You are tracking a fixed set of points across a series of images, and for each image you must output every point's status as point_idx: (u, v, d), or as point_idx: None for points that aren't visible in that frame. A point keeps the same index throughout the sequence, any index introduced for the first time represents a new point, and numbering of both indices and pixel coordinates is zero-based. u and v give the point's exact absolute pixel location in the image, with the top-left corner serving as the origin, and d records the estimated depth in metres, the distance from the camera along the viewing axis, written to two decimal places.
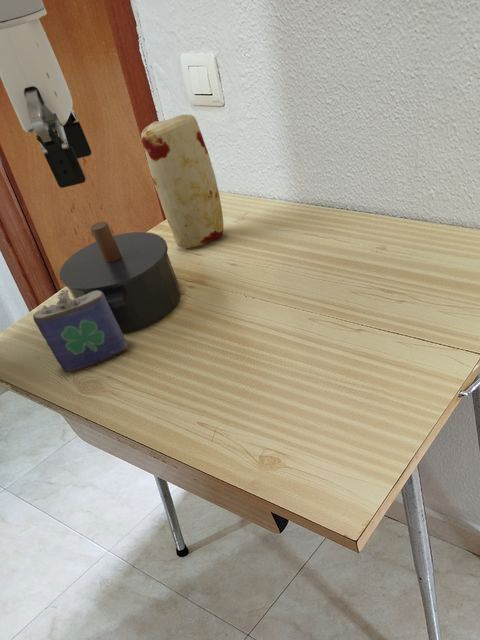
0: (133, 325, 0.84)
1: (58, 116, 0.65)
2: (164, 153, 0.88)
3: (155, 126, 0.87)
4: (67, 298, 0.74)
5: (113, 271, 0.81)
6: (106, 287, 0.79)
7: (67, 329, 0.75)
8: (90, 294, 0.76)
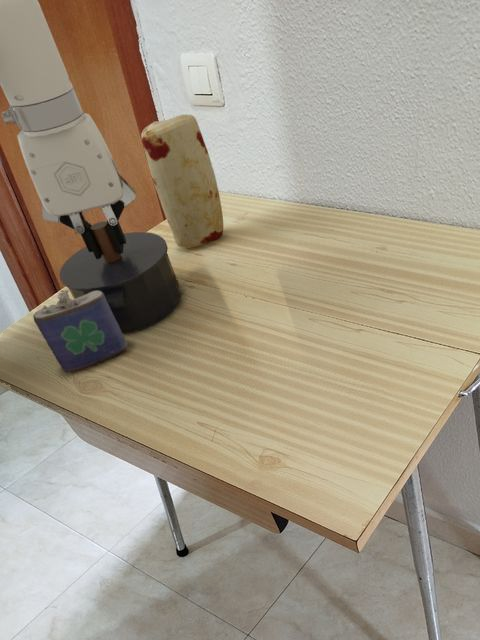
0: (133, 325, 0.84)
1: None
2: (164, 153, 0.88)
3: (155, 126, 0.87)
4: (67, 298, 0.74)
5: (113, 271, 0.81)
6: (106, 287, 0.79)
7: (67, 329, 0.75)
8: (90, 294, 0.76)
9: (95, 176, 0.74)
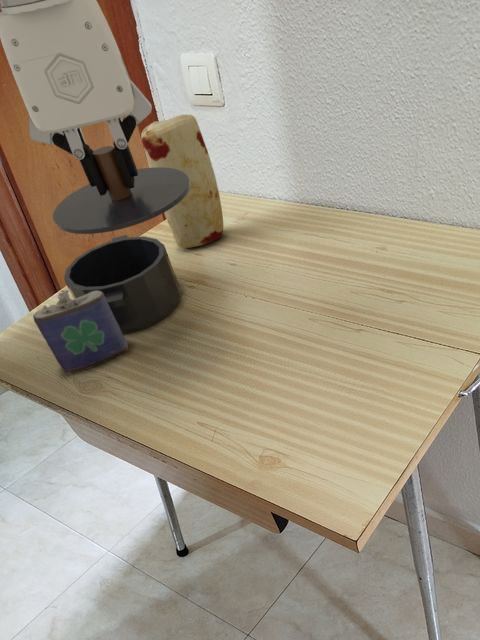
0: (133, 325, 0.84)
1: None
2: (164, 153, 0.88)
3: (155, 126, 0.87)
4: (67, 298, 0.74)
5: (122, 209, 0.63)
6: (113, 228, 0.61)
7: (67, 329, 0.75)
8: (90, 294, 0.76)
9: (99, 76, 0.56)
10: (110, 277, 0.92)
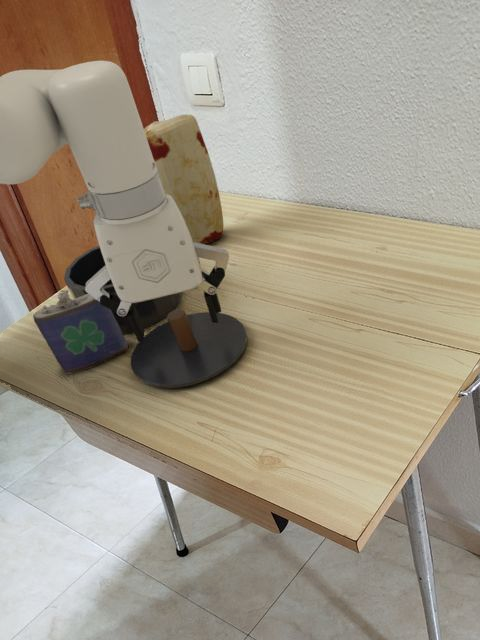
0: None
1: (198, 261, 0.72)
2: (164, 153, 0.88)
3: (155, 126, 0.87)
4: (67, 298, 0.74)
5: (191, 363, 0.75)
6: (186, 384, 0.72)
7: (67, 329, 0.75)
8: None
9: (176, 263, 0.67)
10: None
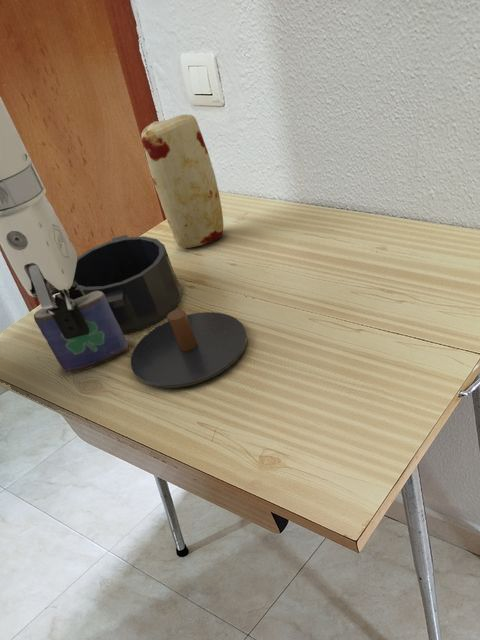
0: (133, 325, 0.84)
1: None
2: (164, 153, 0.88)
3: (155, 126, 0.87)
4: None
5: (191, 363, 0.75)
6: (186, 384, 0.72)
7: None
8: (91, 294, 0.76)
9: (64, 234, 0.71)
10: (110, 277, 0.92)
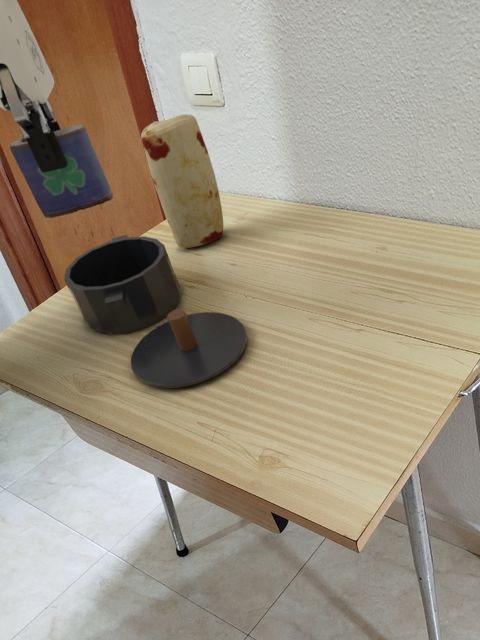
0: (133, 325, 0.84)
1: None
2: (164, 153, 0.88)
3: (155, 126, 0.87)
4: None
5: (191, 363, 0.75)
6: (186, 384, 0.72)
7: None
8: (71, 127, 0.71)
9: (39, 51, 0.67)
10: (110, 277, 0.92)
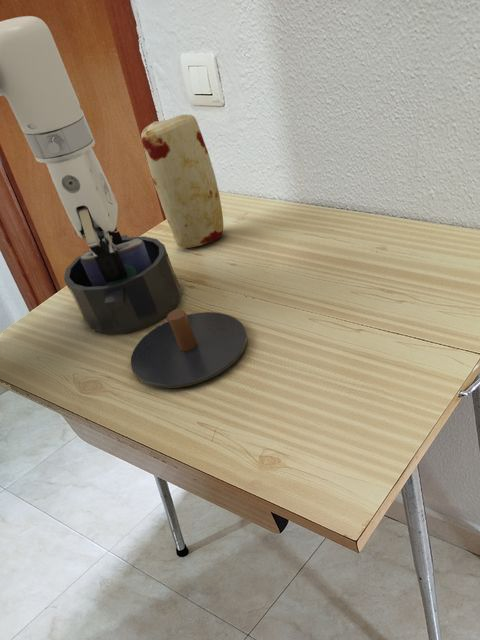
0: (133, 325, 0.84)
1: None
2: (164, 153, 0.88)
3: (155, 126, 0.87)
4: None
5: (191, 363, 0.75)
6: (186, 384, 0.72)
7: None
8: (131, 241, 0.84)
9: (107, 184, 0.80)
10: None
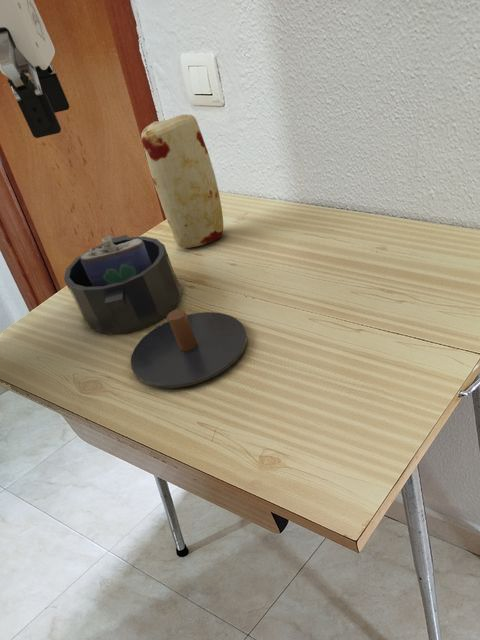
0: (133, 325, 0.84)
1: None
2: (164, 153, 0.88)
3: (155, 126, 0.87)
4: (110, 243, 0.82)
5: (191, 363, 0.75)
6: (186, 384, 0.72)
7: (109, 272, 0.84)
8: (131, 241, 0.84)
9: (39, 18, 0.67)
10: None
